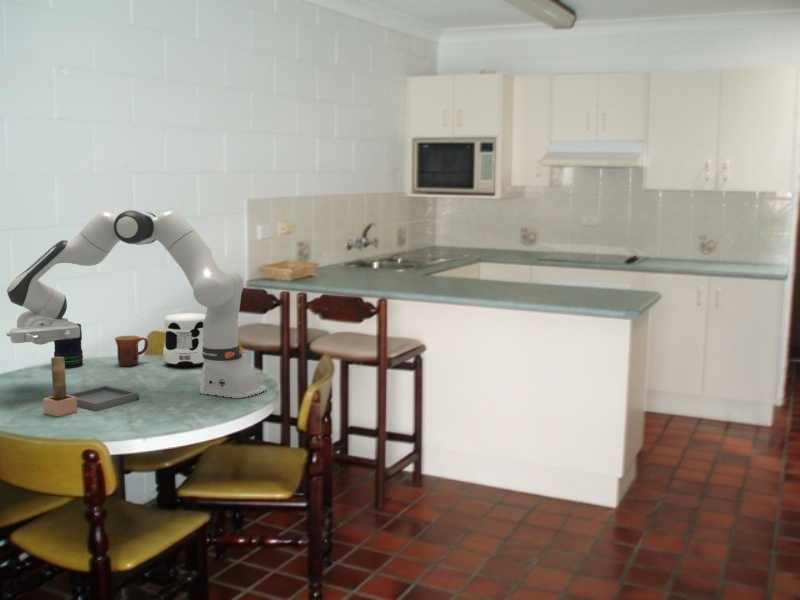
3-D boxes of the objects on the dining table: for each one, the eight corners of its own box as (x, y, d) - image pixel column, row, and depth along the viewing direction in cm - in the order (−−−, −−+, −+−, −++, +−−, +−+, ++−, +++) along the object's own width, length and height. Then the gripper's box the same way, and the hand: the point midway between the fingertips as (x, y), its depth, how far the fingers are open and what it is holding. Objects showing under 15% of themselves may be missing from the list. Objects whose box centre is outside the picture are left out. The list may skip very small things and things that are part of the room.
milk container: (194, 357, 330) (193, 310, 327) (220, 364, 318) (219, 316, 315) (154, 364, 317) (152, 316, 315) (179, 371, 305) (178, 322, 303)
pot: (77, 411, 254) (76, 397, 254) (57, 416, 249) (56, 401, 248) (63, 408, 258) (62, 393, 257) (43, 413, 252) (43, 398, 252)
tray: (139, 399, 268) (138, 392, 268) (95, 410, 255) (95, 403, 255) (106, 391, 277) (105, 385, 277) (62, 402, 264) (62, 395, 264)
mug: (121, 368, 309) (120, 340, 308) (112, 364, 316) (111, 337, 314) (153, 364, 317) (152, 337, 315) (143, 360, 324) (142, 333, 322)
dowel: (69, 410, 254) (66, 357, 251) (58, 413, 251) (56, 359, 248) (62, 408, 256) (59, 356, 253) (51, 411, 253) (48, 358, 250)
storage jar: (60, 370, 307) (58, 329, 304) (50, 365, 314) (48, 325, 311) (87, 366, 313) (85, 325, 311) (77, 361, 320) (75, 322, 318)
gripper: (4, 323, 266) (14, 330, 255) (72, 317, 278) (84, 324, 267) (5, 343, 267) (15, 351, 256) (72, 336, 279) (85, 344, 268)
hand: (51, 337), depth 262 cm, fingers open, 8 cm apart
